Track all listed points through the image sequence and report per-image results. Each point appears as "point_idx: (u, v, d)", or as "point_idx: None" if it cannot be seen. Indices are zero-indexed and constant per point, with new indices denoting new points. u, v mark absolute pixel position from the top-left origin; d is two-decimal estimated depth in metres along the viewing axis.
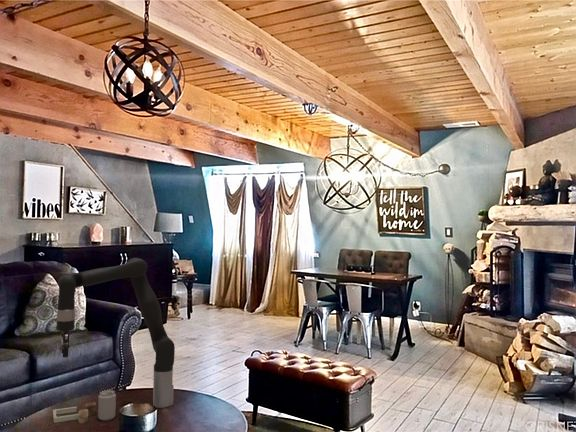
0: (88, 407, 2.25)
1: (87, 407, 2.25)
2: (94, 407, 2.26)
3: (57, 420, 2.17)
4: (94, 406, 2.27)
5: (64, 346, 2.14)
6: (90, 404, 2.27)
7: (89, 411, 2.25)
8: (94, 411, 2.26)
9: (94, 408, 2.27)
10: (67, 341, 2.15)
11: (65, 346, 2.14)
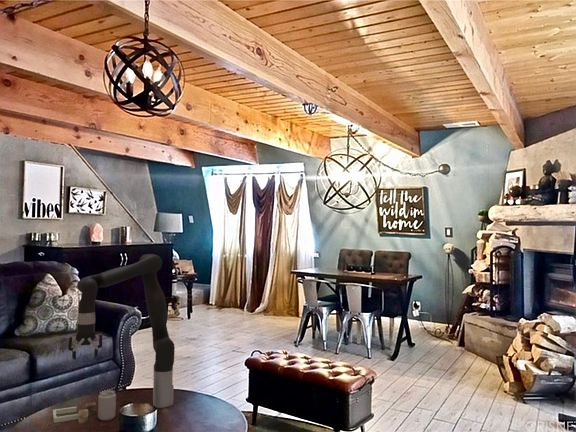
0: (88, 407, 2.25)
1: (87, 407, 2.25)
2: (94, 407, 2.26)
3: (57, 420, 2.17)
4: (94, 406, 2.26)
5: None
6: (90, 404, 2.27)
7: (89, 411, 2.25)
8: (94, 411, 2.26)
9: (94, 408, 2.26)
10: None
11: (101, 345, 2.22)
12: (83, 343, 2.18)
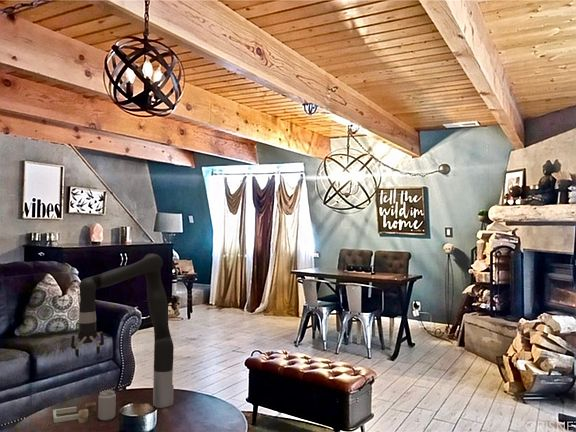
0: (88, 407, 2.25)
1: (87, 407, 2.25)
2: (94, 407, 2.26)
3: (57, 420, 2.17)
4: (94, 406, 2.26)
5: (103, 342, 2.31)
6: (90, 404, 2.27)
7: (89, 411, 2.25)
8: (94, 411, 2.26)
9: (94, 408, 2.26)
10: None
11: None
12: (85, 341, 2.26)
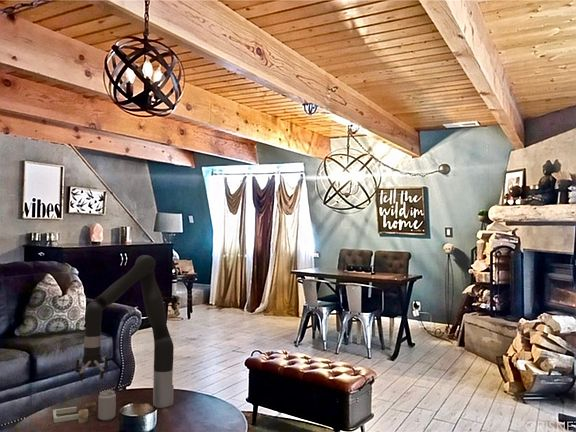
0: (88, 407, 2.25)
1: (87, 407, 2.25)
2: (94, 407, 2.26)
3: (57, 420, 2.17)
4: (94, 406, 2.26)
5: (107, 367, 2.31)
6: (90, 404, 2.27)
7: (89, 411, 2.25)
8: (94, 411, 2.26)
9: (94, 408, 2.26)
10: None
11: None
12: (89, 365, 2.27)
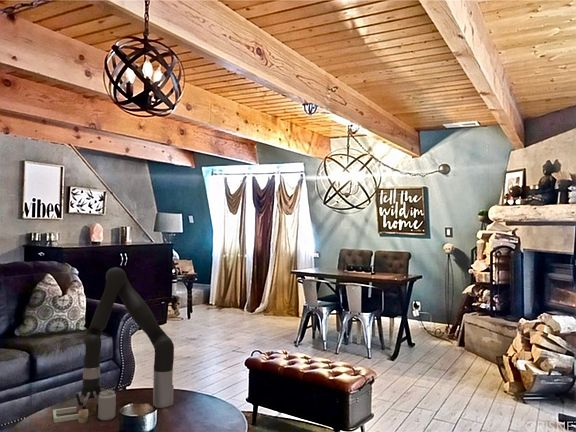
0: (88, 407, 2.25)
1: (87, 407, 2.25)
2: (94, 407, 2.26)
3: (57, 420, 2.17)
4: (94, 406, 2.26)
5: None
6: (90, 404, 2.27)
7: (89, 411, 2.25)
8: (94, 411, 2.26)
9: (94, 408, 2.26)
10: None
11: None
12: (90, 396, 2.27)
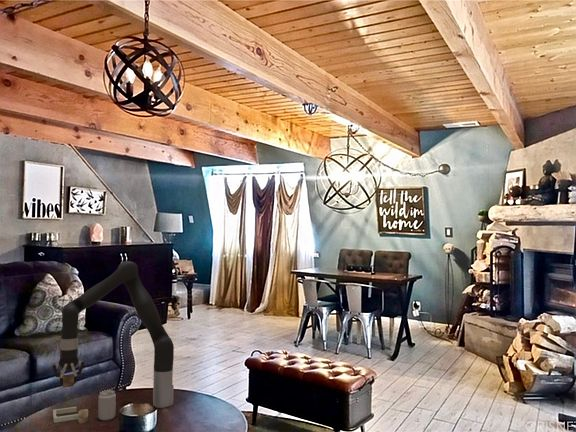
0: (65, 379, 2.22)
1: (64, 378, 2.22)
2: (71, 379, 2.23)
3: (57, 420, 2.17)
4: (71, 377, 2.23)
5: (80, 372, 2.26)
6: (68, 376, 2.24)
7: (66, 382, 2.22)
8: (71, 383, 2.23)
9: (71, 379, 2.23)
10: None
11: (80, 371, 2.27)
12: (67, 367, 2.23)
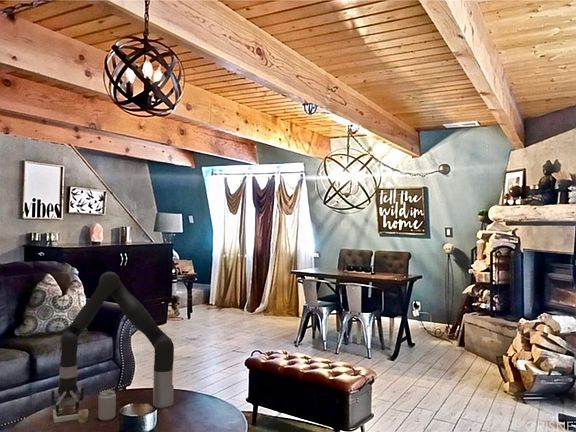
0: (64, 410, 2.21)
1: (63, 410, 2.21)
2: (71, 410, 2.23)
3: (57, 420, 2.17)
4: (71, 409, 2.23)
5: None
6: (67, 407, 2.24)
7: (66, 414, 2.22)
8: (71, 414, 2.23)
9: (71, 411, 2.23)
10: None
11: (82, 397, 2.27)
12: (65, 396, 2.23)
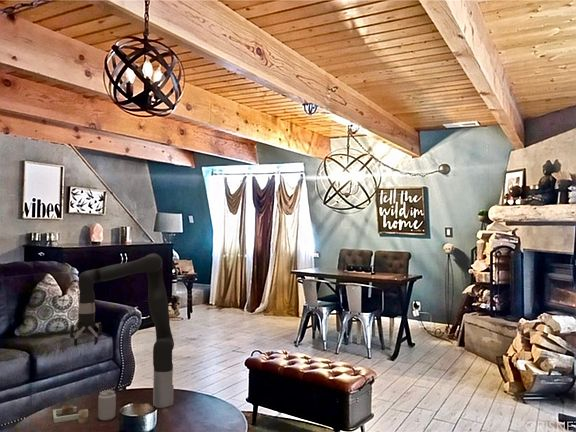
0: (64, 410, 2.21)
1: (64, 410, 2.21)
2: (71, 410, 2.23)
3: (57, 420, 2.17)
4: (71, 409, 2.23)
5: (101, 333, 2.39)
6: (67, 407, 2.24)
7: (66, 414, 2.22)
8: (71, 414, 2.23)
9: (71, 411, 2.23)
10: None
11: None
12: (84, 331, 2.34)
